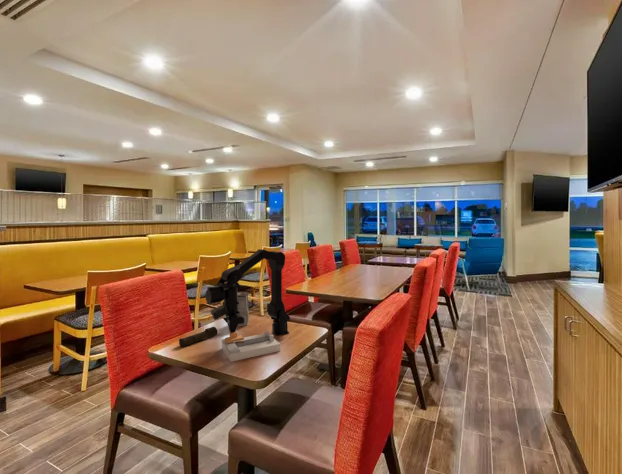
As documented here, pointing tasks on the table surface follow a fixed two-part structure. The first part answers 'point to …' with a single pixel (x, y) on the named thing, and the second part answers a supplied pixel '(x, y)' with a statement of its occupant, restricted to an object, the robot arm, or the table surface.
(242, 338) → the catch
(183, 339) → the hand tool
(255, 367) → the table surface
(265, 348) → the mount block
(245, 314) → the coffee box
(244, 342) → the grey flat bar
